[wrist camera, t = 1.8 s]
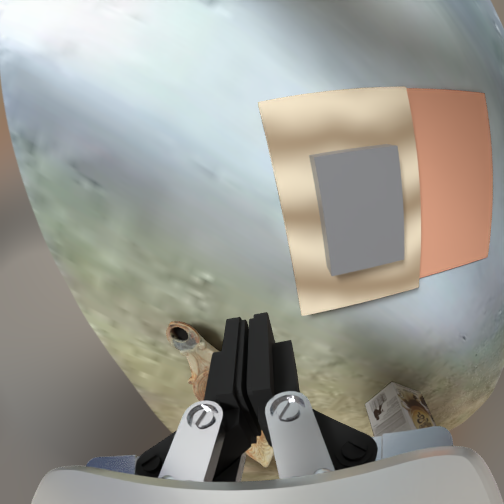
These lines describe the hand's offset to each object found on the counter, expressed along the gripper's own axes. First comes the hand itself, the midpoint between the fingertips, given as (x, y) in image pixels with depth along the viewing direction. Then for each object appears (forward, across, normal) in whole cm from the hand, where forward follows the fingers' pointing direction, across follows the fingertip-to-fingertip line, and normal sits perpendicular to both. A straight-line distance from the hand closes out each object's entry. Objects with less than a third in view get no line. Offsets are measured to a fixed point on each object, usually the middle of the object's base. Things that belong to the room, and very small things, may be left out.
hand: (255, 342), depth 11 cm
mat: (+16, -22, -1) cm, 27 cm away
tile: (+13, -9, 0) cm, 16 cm away
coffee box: (+16, -16, +32) cm, 40 cm away
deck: (+16, -9, -1) cm, 18 cm away
